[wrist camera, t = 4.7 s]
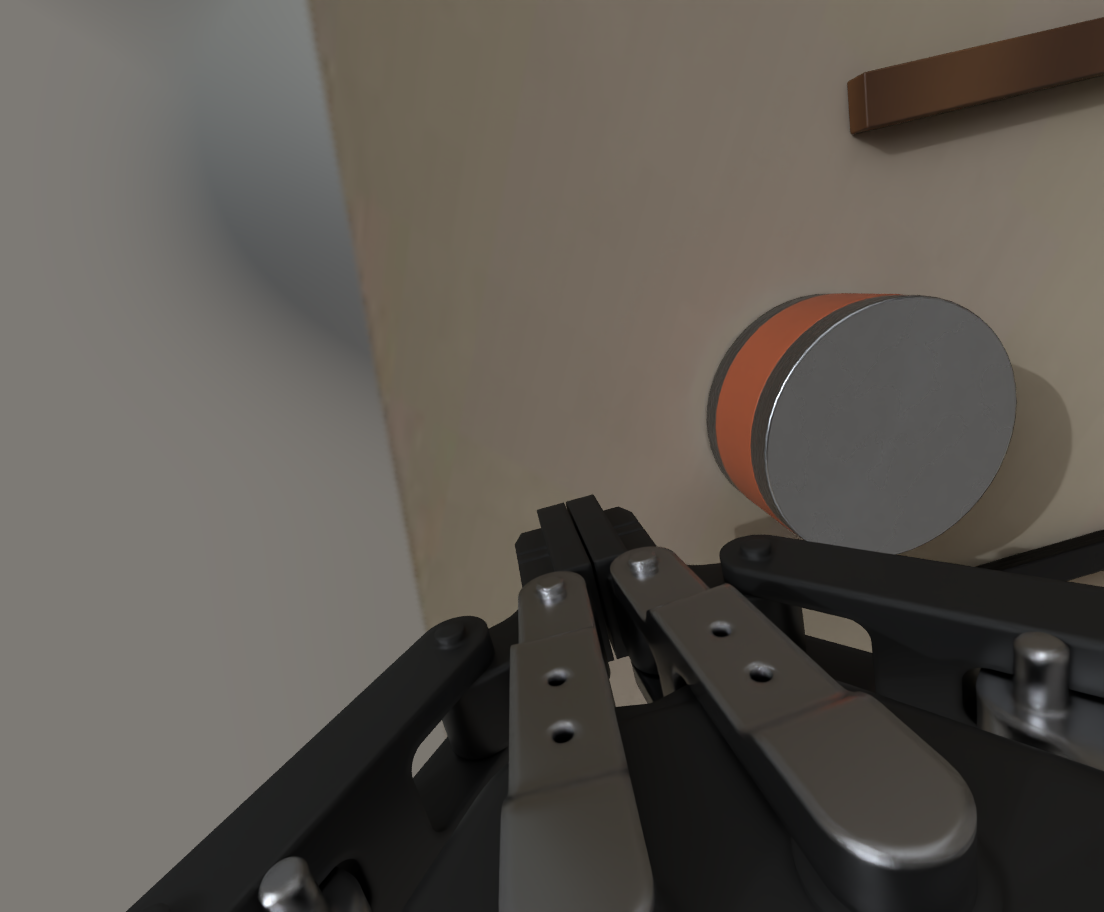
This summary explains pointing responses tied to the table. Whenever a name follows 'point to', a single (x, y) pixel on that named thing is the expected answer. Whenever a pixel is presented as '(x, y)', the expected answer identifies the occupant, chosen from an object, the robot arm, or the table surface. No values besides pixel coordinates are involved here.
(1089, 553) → the fork
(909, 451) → the tin can
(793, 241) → the table surface
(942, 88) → the spoon
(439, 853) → the robot arm
